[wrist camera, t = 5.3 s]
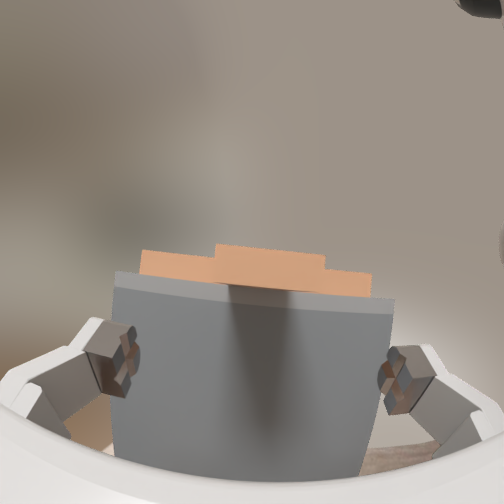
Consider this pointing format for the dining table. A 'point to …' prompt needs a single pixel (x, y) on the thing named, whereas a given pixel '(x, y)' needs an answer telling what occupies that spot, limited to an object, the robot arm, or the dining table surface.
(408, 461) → the dining table surface
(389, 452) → the dining table surface
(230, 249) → the lid
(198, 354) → the crate
